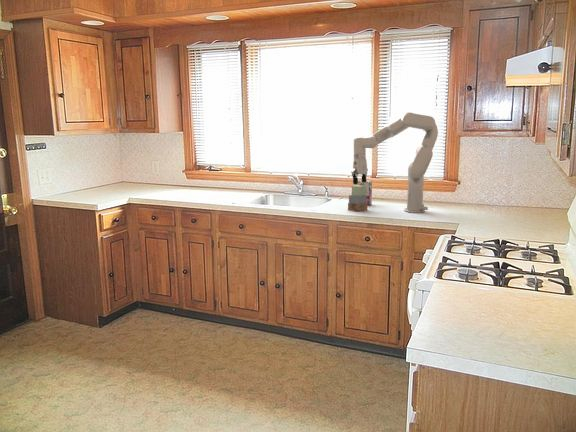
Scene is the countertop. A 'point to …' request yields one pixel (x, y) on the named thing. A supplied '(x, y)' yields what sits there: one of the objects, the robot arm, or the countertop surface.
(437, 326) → the countertop surface
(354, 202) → the upper block
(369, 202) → the candy bar box
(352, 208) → the lower block
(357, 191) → the green cube
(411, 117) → the robot arm
